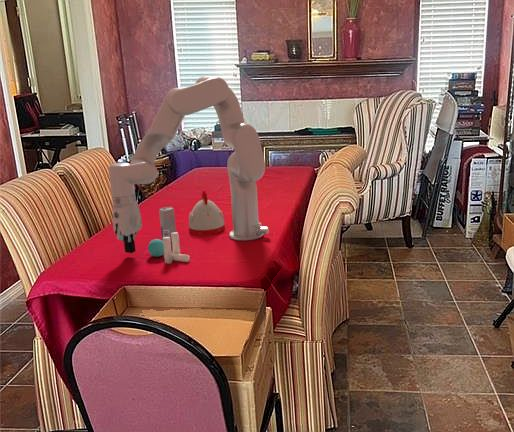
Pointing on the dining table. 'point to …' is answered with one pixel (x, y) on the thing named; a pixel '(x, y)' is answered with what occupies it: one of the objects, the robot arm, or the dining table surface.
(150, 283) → the dining table surface
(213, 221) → the kitchen timer
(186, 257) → the front pin
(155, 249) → the ball
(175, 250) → the pin
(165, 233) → the energy drink
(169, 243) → the pin
